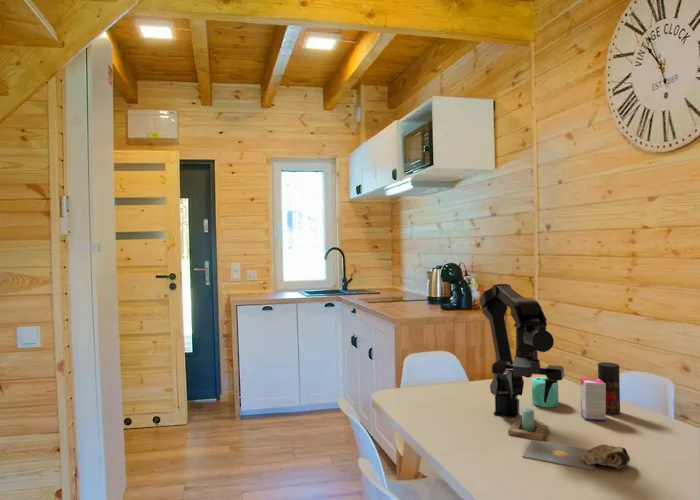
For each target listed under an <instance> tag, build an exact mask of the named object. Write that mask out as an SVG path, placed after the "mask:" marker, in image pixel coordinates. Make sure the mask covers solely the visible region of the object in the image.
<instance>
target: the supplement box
mask: <svg viewBox="0 0 700 500" xmlns="http://www.w3.org/2000/svg"><path fill="white" fill-rule="evenodd" d="M580 415H581V416H582V417H583V419H584V420H585V421H589V422H592V421H593V422H606V421H607V420H606V419H607V417H606V384H605V383H604V382H603V381H602V380H600V379H598V378H586V377H585V378H584V377H581V378H580Z"/></svg>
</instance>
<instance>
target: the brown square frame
mask: <svg viewBox="0 0 700 500" xmlns="http://www.w3.org/2000/svg"><path fill="white" fill-rule="evenodd" d="M548 427H549V425H546V424H541V423H535V422H534V432H532V431H526V430H522V420H521V421H520V420H514V422H513V423H512V425H511V426H510V428H508V431H507V433H508V434H507V435H508V436H512V437H513V436H514V437H519V438H525V439H531V440H537V441H544V438H545V436H546V434H547V432H548V431H549V430H548Z"/></svg>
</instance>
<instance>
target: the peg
mask: <svg viewBox="0 0 700 500" xmlns="http://www.w3.org/2000/svg"><path fill="white" fill-rule="evenodd" d="M521 421H522V428H521V430H526V431H532V432H535V430H534V423H535V411H534V410H533V409H531V408H523V409H521Z"/></svg>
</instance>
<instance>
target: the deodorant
mask: <svg viewBox="0 0 700 500" xmlns="http://www.w3.org/2000/svg"><path fill="white" fill-rule="evenodd" d="M597 379H600V380H602V381H603V382H604V383H605V384H606V415H607V416H619V415H620V414H621V389H620V383H621V382H620V364H618V363H615V362H607V361H606V362H605V361H604V362H603V361H602V362H598V363H597Z"/></svg>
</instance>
